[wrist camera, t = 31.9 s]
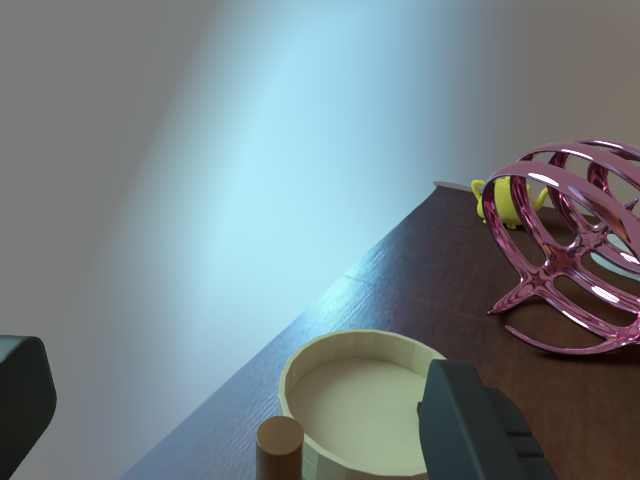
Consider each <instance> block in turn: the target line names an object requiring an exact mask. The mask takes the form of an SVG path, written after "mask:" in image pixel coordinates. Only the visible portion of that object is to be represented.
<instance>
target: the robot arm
mask: <svg viewBox="0 0 640 480" xmlns="http://www.w3.org/2000/svg"><path fill="white" fill-rule="evenodd" d="M56 400H57V397H56V391H55V387H54V383H53V379H52V375H51V371H50V367H49V363H48V359H47V355H46V351H45V347H44V344H43V342H42V341H41V339H40V338H38V337H31V336H12V335H11V336H10V335H0V480H9V478H10V477H11V476H12V474H13V473H14V472H15V470H16V469H17V467H18V466H19V465H20V464H21V462H22V461H23V459H24V458H25V457H26V455H27V454H28V453H29V451H30V450H31V449H32V447H33V446H34V445H35V443H36V442H37V440H38V439H39V438H40V436H41V435H42V434H43V432H44V431H45V429H46V428H47V427H48V425H49V423H50V422H51V420H52V417H53V415H54V412H55V408H56ZM419 438H420V445H421V449H422V453H423V457H424V461H425V465H426V469H427V473H428V478H429V480H558V479H557V477H556V475H555V473H554V471H553V470H552V468H551V466H550V464H549V462H548V460H547V459H544V453H543V451H542V449H541V448H540V446H539V444H538V442H537V440H536V438H533V436H532V431H531V429H530V428H529V426H528V424H527V422H526V420H525V418H524V417H523V415H522V413H521V411H520V409H519V408H518V407H517V406H516V405H515V404H514V403H513V402H512V401H511V400H510V399H509V398H508V397H506V396H505V395H504V394H503V393H502V392H501V391H500V390H499V389H498V388H485V387H484V385H483V383H482V381H481V379H480V377H479V375H478V373H477V371H476V369H475V367H474V365H473V363H472V362H471V361H467V360H448V359H433V360H432V361H431V363H430V365H429V370H428V375H427V380H426V384H425V389H424V394H423V399H422V404H421V409H420V414H419Z"/></svg>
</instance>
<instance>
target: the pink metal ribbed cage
mask: <svg viewBox="0 0 640 480" xmlns="http://www.w3.org/2000/svg"><path fill="white" fill-rule="evenodd" d="M594 146H602V147H608V148H612V149H611V150H607V151H606V150H603V149H600V148H597V147H594ZM543 152H554V153H553V154H552V156H551V157H550V159H549V161H548V164H547V163H542V162H537V161H532V159H533V158H534V157H535V156H536V155H538V154H540V153H543ZM572 155H574V156H578V157H581V158H584V159H586V160H589V161H591V162H590V164H589V167H588V170H587V180H585V179H583V178H581V177H579V176H577V175H576V174H573V173H571V172H569V171H567V170H565V168H566V164H567V162H568V160H569V159H570V157H571V156H572ZM627 160H634V161H639V162H640V148H638V147H635V146H632V145H629V144H626V143H623V142H619V141H614V140H608V139H595V138H594V139H581V140H576V141H572V142H557V143H549V144H545V145H541V146H539V147H536V148H534V149H531V150H529V151H528V152H526V153H525V154H524V155H522V156H521V157H520V158H519V159H518V160H517V161H516V162H512V163H509V164H506V165H504V166H502V167H501V168H500V169H498V170H497V171H496V172H494V173H493V174H492V175H491V177H489V179H488V180H487V181H486V183H485V185H484V188H483V191H482V198H481V202H482V210H483V214H484V218H485V221H486V224H487V226H488V228H489V231H490V233H491V235H492V237H493V239H494V240H495V242H496V244H497V246H498V247H499V249H500V250H501V252H502V253H503V255H504V256H505V258H506V259H507V260H508V262H509V263H510V264H511V266H512V267H513V268H514V269H515V270H516V272H517V273H518V275H519V276H520V279H521V281H520V283H519V285H518V286H517V287H515V288H514V289H513V290H512V291H510V292H509V293H508V294H507V295H505V296H504V297H503V298H502V299H500V300H499V301H498V302H497V303H495V304H494V305H493V306H492V307H491V308H490V309H489V310H488V311H487V312H486V315H487V316H489V317H493V316H497V315H500V314H502V313H504V312H506V311H508V310H510V309H512V308H514V307H515V306H517V305H519V304H520V303H522V302H523V301H525V300H526V299H528V298H529V297H532V296H538V297H541V298H542V299H544V300H545V301H546V302H547V303H549V304H550V305H551V306H552V307H554V308H555V309H556V310H557V311H559V312H560V313H561V314H563V315H564V316H566V317H567V318H568V319H570V320H571V321H573V322H574V323H576V324H578V325H579V326H581V327H583V328H585V329H586V330H588V331H590V332H592V333H594V334H596V335H598V336H601V337H603V338H604V339H606V341H604V342H603V343H600V344H597V345H594V346H589V347H584V348H559V347H554V346H549V345H546V344H543V343H540V342H537V341H535V340H533V339H531V338H529V337H527V336H525V335H523V334H522V333H520V332H519V331H517V330H516V329H514V328H512V327H510V326H505V329H506V330H507V331H508V332H509V333H510V334H511V335H512V336H514V337H515V338H517V339H518V340H520V341H521V342H523V343H525V344H527V345H529V346H531V347H534V348H536V349H539V350H541V351H545V352H548V353H552V354H557V355H564V356H590V355H597V354H602V353H606V352H610V351H613V350H616V349H619V348H623V347H627V346H637V345H640V298H639V297H636V296H633V295H630V294H628V293H625V292H623V291H621V290H619V289H616V288H614V287H612V286H611V285H609V284H607V283H605V282H603V281H602V280H600V279H599V278H597V277H595V276H594V275H592V274H591V273H589V272H588V271H587V270H585V269H584V268H583V267H582V266H581V264H580V259H581V257H582V256H583V255H584V254H586V253H590V252H591V253H595V254H597V255H599V256H600V257H602V258H603V259H605V260H606V261H608V262H609V263H611V264H613V265H614V266H616V267H618V268H620V269H622V270H624V271H626V272H629V273H631V274H633V275H636V276H639V277H640V218H639V217H637V216H636V215H634V214H633V213H632V209H633V207H634V206H635V204H636V203H637V202H638V200H639V198H636V199H634V200H632V201H630V202H629V203H627V204H621V203H619V202H618V201H617V199H616V198H615V197H614V195H613V194H612V192H611V190H610V188H609V184H608V179H607V176H608V171H609V170H610V171H611V172H613V173H615V174H616V175H618V176H620V177H621V178H623V179H624V180H626V181H627V182H628V183H630V184H631V185H633V186H634V187H635V188H637V189H638V190H639V191H640V168H639V167H637V166H636V165H634V164H632V163H631V162H629V161H627ZM503 176H510V194H511V198H512V202H513V205H514V208H515V210H516V213H517V215H518V217H519V219H520V221H521V223H522V225H523V226H524V228H525V230H526V231H527V233H528V234H529V236H530V237H531V239H532V240H533V241H534V243H535V244H536V245H537V247H538V248H539V249H540V250H541V251H542V253H543V254H544V256H545V258H546V262H545V264H544V265H543V266H542V267H539V268H535V267H533V266H532V265H530V264H529V263H528V262H527V260H526V259H525V258H524V257H523V255H522V254H521V253H520V252H519V250H518V249H517V247H516V246H515V245H514V243H513V241H512V240H511V238H510V237H509V235H508V233H507V231H506V230H505V228H504V226H503V224H502V221H501V219H500V216H499V214H498V211H497V207H496V203H495V185H496V181H497V179H498V178H499V177H503ZM526 178H530V179H533V180H536V181H539V182H541V183H544V184H546V185H547V189H548V193H549V196H550V199H551V201H552V203H553V205H554V207H555V209H556V211H557V212H558V214H559V216H560V217H561V219H562V220H563V221H564V223H565V224H566V225H567V226H568V228H569V229H570V230H571V231H572V232H573V234H574V236H575V240H574V242H573V243H572V244H571V245H570V246H567V247H562V246H560V245H558V244H557V243H556V242H555V241H554V240H553V238H552V237H551V236H550V235H549V233H548V232H547V231H546V229H545V228H544V226H543V225H542V223H541V222H540V220H539V219H538V217H537V215H536V213H535V211H534V209H533V207H532V204H531V202H530V199H529V196H528V192H527V186H526ZM571 198H572V199H573V200H575V201H576V202H577V203H579V204H580V205H582V206H583V207H584V208H586V209H587V210H588V211H590V212H591V213H592V214H593V215H595V216H596V217H597V218H598V219H599V220H600V221H602V222H601V223H599V224H597V225H591V224H589V223H588V222H587V221H586V220H585V219H584V218H583V217H582V215H581V214H580V213H579V211H578V210H577V208H576V207H575V205H574V204H573V202H572V200H571ZM610 230H611V231H612V232H613V233H614V234H615V235H616V236H617V237H618V238H619V239H620V240H621V241H622V242H623V243H624V245H625V246H626V247H627V248H628V249H629V251H630V252H631V253H632V254H633V255H632V254H630V253H628V252H626V251H624V250H622V249H620V248H619V247H617V246H615V245H614V244H612V243H611V242H610V241H609V240H608V239H607V234H608V233H609V231H610ZM559 276H565V277H567V278H569V279H571V280H572V281H573V282H575V283H576V284H577V285H579V286H580V287H581V288H583V289H584V290H586V291H587V292H589V293H590V294H592V295H594V296H595V297H597V298H599V299H600V300H602V301H604V302H606V303H608V304H610V305H612V306H614V307H616V308H619V309H621V310H624V311H626V312H629V313H632V314H634V315H635V316H636V317H637V319H636V320H635V322H634V323H632V324H631V325H629V326H627V327H617V326H614V325H611V324H609V323H607V322H605V321H602V320H600V319H598V318H597V317H595V316H593V315H591V314H589V313H588V312H586V311H584V310H583V309H581V308H580V307H578V306H577V305H575V304H574V303H572V302H571V301H569V300H568V299H567V298H565V297H564V296H563V295H562V294H560V293H559V292H558V291H557V290H556V289H555V288H554V286H553V281H554V279H556V278H557V277H559Z"/></svg>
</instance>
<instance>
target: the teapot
mask: <svg viewBox="0 0 640 480" xmlns="http://www.w3.org/2000/svg"><path fill="white" fill-rule="evenodd" d="M485 183H486V182H484V181H481V180H474V181H473V182H472V183H471V186H472V190H473V192H474V194H475V196H476V198H477V200H478V201H479V202H478V206H477V210H478V214H479V216H480V217H482V218H484V214H483V210H482V202H481V198H482V195H481V197H480V194H479V191H478V185H485ZM526 186H527V192H528V196H529V199H530V202H531V204H532V207H533V209H534V211H535V212H537V211H538V210H539V209H540V208H541V206H542V205H543V202H544V200H545V198H546V196H547V195H548V189H547V188H545V189H544V190H543V191H542V192H541V194H540V196H539V198H538V199H537V200H536V201H534V202H532V200H531V192H530V187H529V185H528V184H526ZM495 203H496V207H497V211H498V214H499V216H500V219H501V221H502V223H505V224H506V227H508V228H511V229H516V226H515V225H522V223H521V221H520V219H519V217H518V215H517V213H516V210H515V208H514V205H513V202H512V198H511V194H510V177H506V178H505V180H504V179H497V181H496V185H495ZM483 222H484V223H486V221H485V219H484V221H483Z"/></svg>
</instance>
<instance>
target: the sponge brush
mask: <svg viewBox="0 0 640 480" xmlns="http://www.w3.org/2000/svg"><path fill="white" fill-rule="evenodd" d="M303 450H304V430H303V428H302V426H301V425H300V423H299V422H298V421H296V420H295V419H293V418H291V417H287V416H274V417H271V418H269V419H267V420H265V421H264V422H263V423H262V424H261V425H260V426H259V428H258V430H257V432H256V480H302V467H303Z"/></svg>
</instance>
